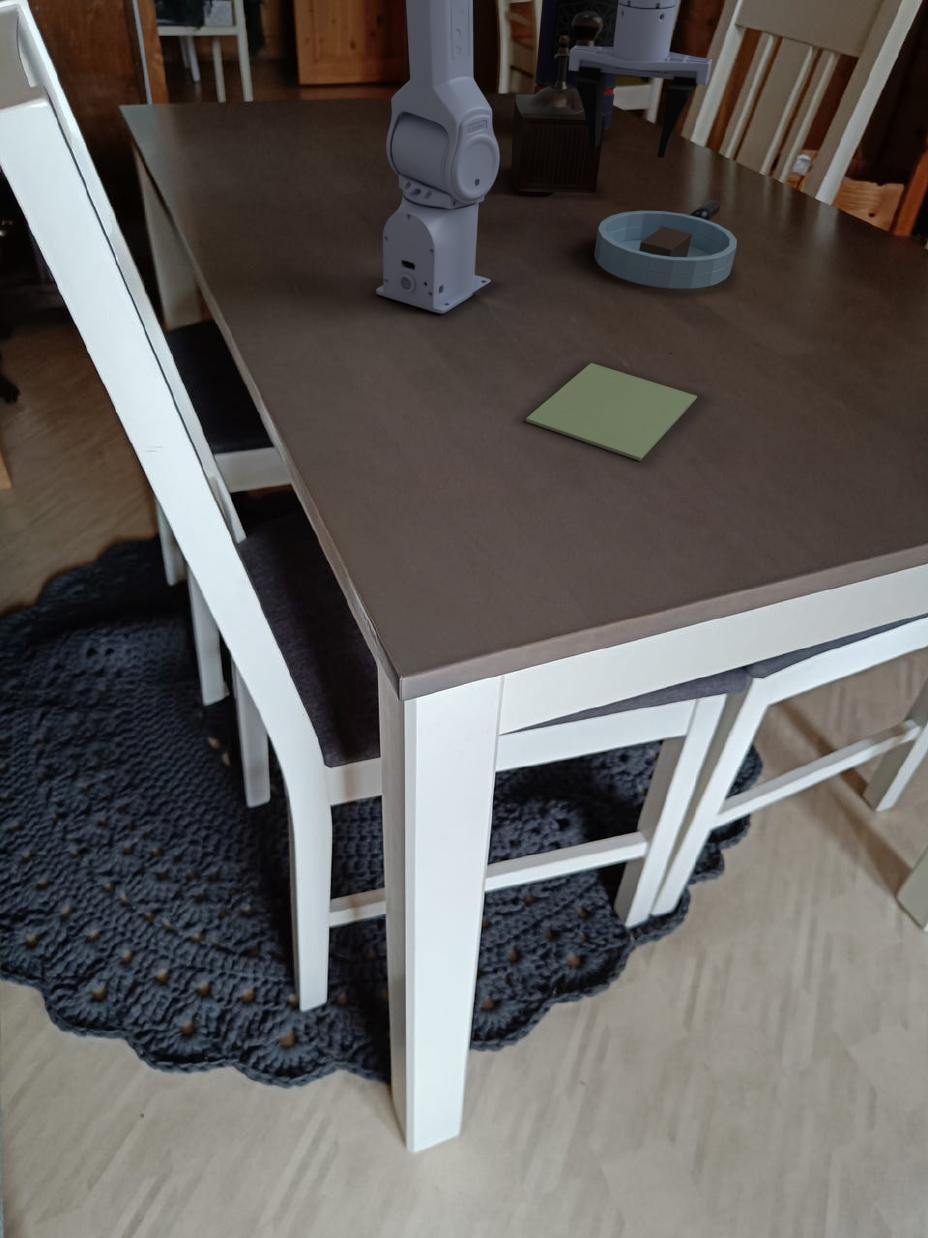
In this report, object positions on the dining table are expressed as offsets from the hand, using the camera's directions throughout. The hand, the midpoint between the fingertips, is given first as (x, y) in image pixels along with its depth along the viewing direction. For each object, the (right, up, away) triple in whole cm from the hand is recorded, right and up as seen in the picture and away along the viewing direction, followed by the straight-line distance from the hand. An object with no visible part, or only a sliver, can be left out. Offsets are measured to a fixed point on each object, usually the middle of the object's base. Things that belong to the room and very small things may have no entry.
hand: (628, 150), depth 100 cm
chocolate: (+3, -13, -2) cm, 13 cm away
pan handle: (+9, -6, +5) cm, 12 cm away
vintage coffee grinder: (-6, +7, +21) cm, 23 cm away
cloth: (-6, -34, -25) cm, 43 cm away
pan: (+3, -13, -1) cm, 14 cm away
